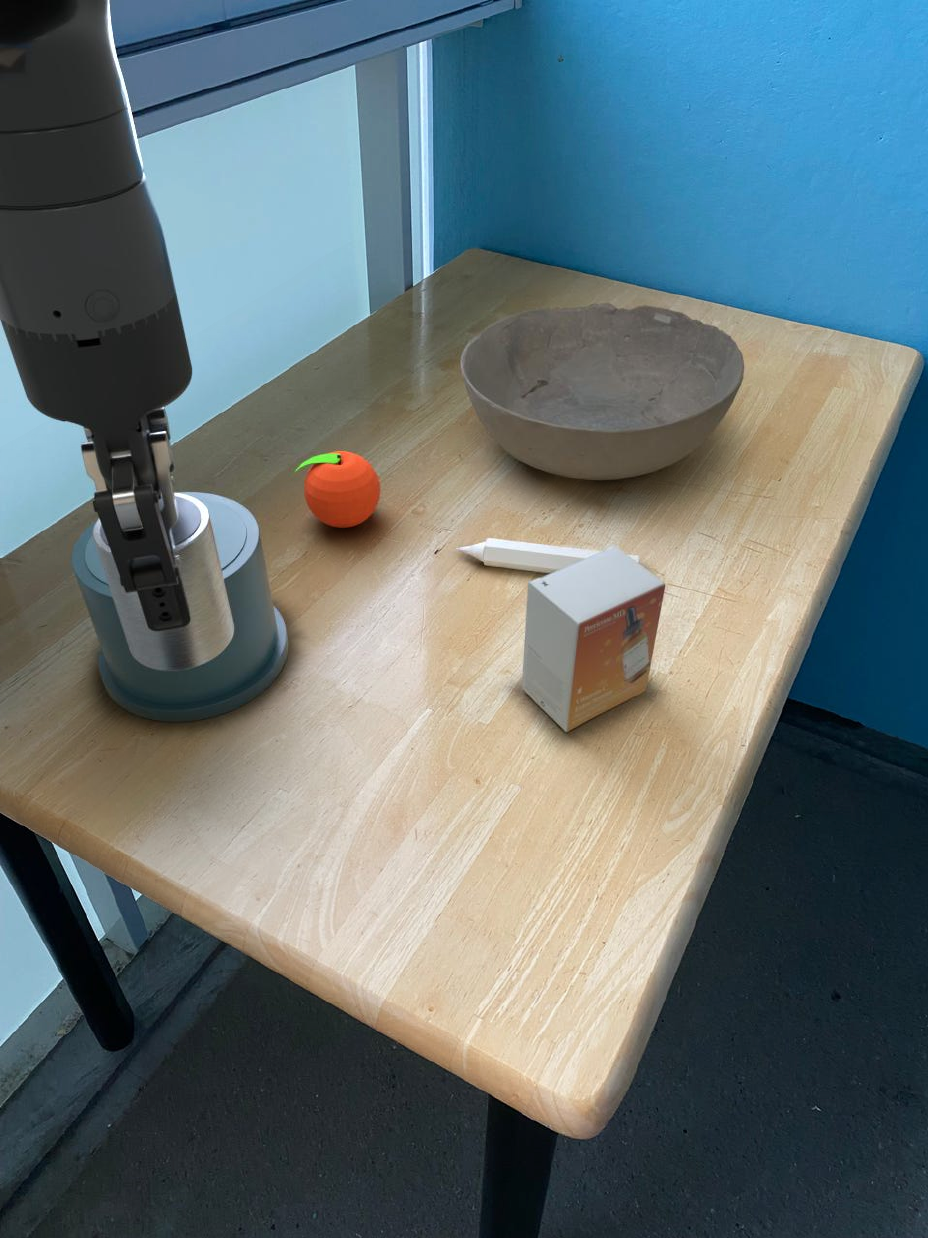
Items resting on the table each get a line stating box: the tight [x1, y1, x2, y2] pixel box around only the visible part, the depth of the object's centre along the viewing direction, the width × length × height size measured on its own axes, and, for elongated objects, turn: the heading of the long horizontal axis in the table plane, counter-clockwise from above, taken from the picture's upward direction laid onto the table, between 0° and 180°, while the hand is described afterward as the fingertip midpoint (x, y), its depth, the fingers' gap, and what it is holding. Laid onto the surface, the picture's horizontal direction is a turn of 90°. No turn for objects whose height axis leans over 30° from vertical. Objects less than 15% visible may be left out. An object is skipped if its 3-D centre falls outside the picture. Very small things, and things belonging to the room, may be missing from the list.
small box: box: [521, 544, 666, 733], centre depth 67 cm, size 8×6×10 cm
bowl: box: [460, 302, 745, 481], centre depth 95 cm, size 28×28×10 cm
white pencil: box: [454, 537, 640, 574], centre depth 81 cm, size 3×2×16 cm
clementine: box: [291, 450, 381, 529], centre depth 85 cm, size 8×7×7 cm
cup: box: [93, 492, 234, 671], centre depth 52 cm, size 6×6×8 cm
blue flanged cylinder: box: [71, 491, 290, 723], centre depth 70 cm, size 14×14×11 cm
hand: (168, 586), depth 52 cm, fingers closed on cup, 6 cm apart
